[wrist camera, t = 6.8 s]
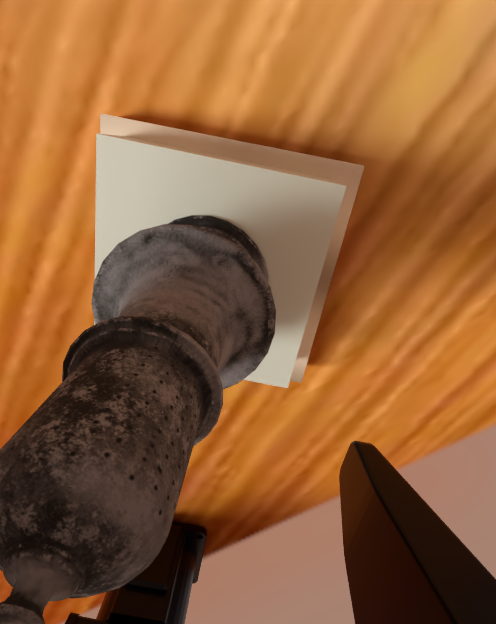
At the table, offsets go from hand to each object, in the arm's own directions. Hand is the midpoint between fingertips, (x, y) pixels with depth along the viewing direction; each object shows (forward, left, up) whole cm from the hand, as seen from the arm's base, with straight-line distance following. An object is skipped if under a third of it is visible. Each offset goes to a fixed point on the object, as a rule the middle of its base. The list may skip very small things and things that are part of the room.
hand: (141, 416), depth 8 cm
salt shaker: (0, 0, -8) cm, 8 cm away
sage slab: (0, 0, -10) cm, 10 cm away
